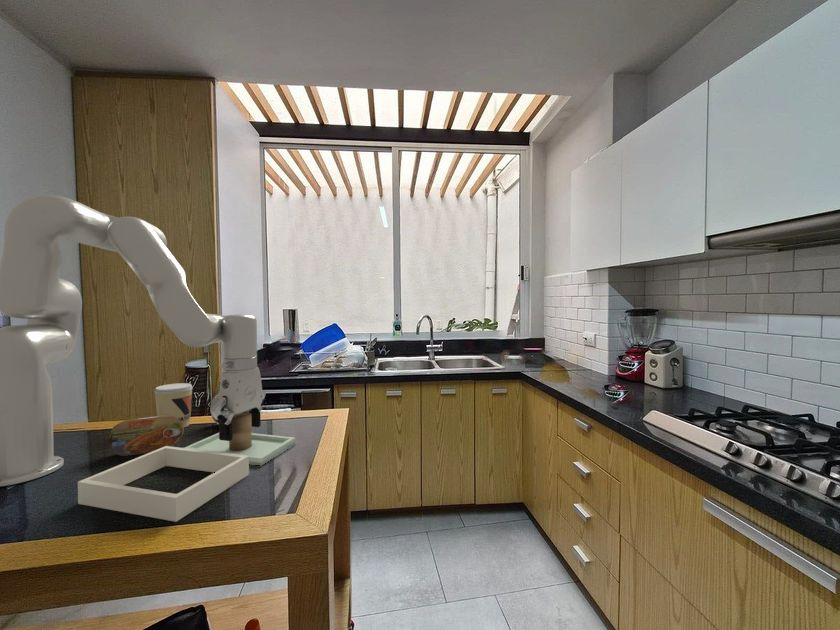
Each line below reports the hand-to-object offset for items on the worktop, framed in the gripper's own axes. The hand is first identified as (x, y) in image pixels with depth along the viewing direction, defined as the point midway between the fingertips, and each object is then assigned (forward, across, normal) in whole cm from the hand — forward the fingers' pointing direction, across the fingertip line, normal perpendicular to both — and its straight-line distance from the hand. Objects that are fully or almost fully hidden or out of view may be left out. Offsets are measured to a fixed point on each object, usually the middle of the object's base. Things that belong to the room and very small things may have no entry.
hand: (240, 432), depth 88 cm
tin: (+5, -6, +22) cm, 23 cm away
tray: (+4, 0, 0) cm, 4 cm away
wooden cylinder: (+4, 0, 0) cm, 4 cm away
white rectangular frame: (+4, -19, 0) cm, 19 cm away
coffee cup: (+4, +10, +32) cm, 34 cm away
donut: (+4, +14, +18) cm, 23 cm away
